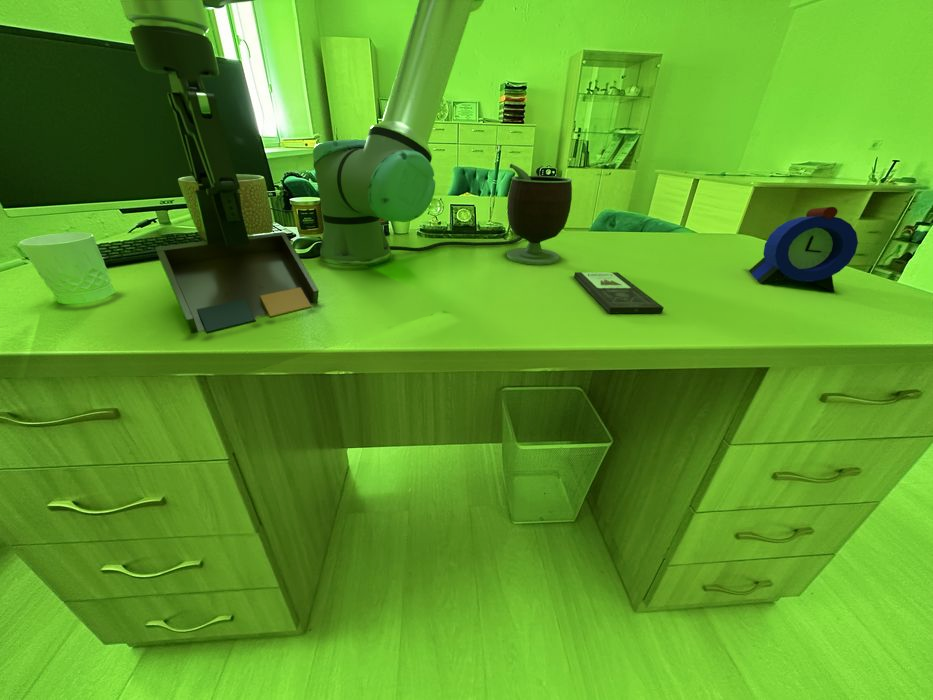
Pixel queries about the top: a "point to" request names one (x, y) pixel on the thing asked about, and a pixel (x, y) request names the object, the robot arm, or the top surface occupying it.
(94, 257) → the white cup
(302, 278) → the dustpan
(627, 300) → the chocolate bar
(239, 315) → the block
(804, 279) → the alarm clock
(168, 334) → the top surface
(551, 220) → the mate gourd
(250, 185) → the planter
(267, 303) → the block
